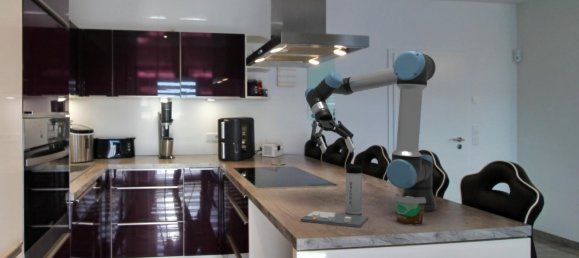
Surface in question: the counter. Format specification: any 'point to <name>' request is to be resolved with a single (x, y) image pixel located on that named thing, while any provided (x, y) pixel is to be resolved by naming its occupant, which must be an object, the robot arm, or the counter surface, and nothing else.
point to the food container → (409, 209)
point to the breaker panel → (335, 219)
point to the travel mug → (354, 189)
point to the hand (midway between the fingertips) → (339, 150)
